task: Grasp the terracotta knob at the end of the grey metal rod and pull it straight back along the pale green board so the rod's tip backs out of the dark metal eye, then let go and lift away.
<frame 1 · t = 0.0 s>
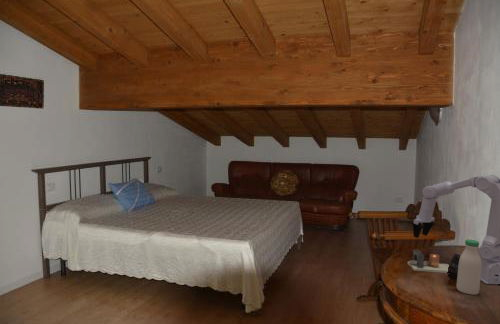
hand: (420, 236, 186), 11 cm above the table, tool pointing down, fingers open, 7 cm apart
board: (431, 268, 172), on the table
hook rod: (424, 259, 172), point 4 cm above the table, slide at 0.0 cm
milk bottle: (467, 291, 149), on the table
eye post: (417, 267, 173), resting on board
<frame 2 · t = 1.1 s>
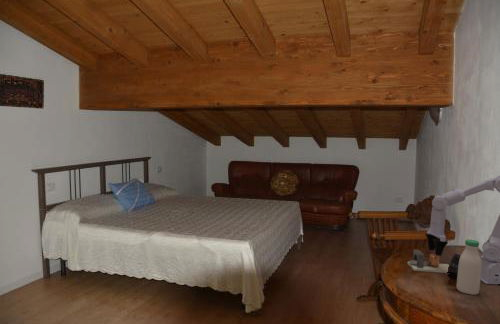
hand: (434, 252, 171), 7 cm above the table, tool pointing down, fingers open, 7 cm apart
nothing on the table moved.
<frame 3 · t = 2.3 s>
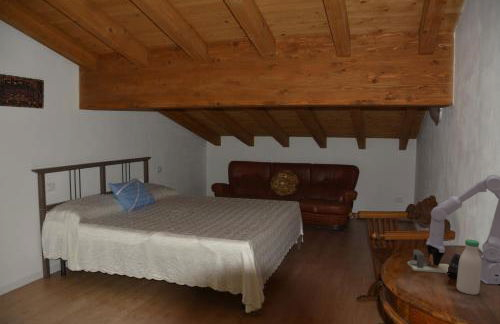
hand: (434, 263, 172), 2 cm above the table, tool pointing down, fingers closed on hook rod, 4 cm apart
hook rod: (424, 259, 172), point 4 cm above the table, slide at 0.0 cm, touching gripper
everything else where it was.
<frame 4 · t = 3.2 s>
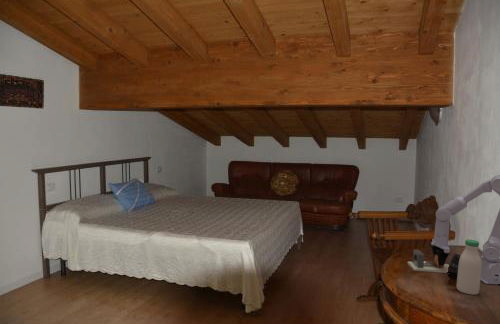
hand: (439, 263, 172), 2 cm above the table, tool pointing down, fingers closed on hook rod, 4 cm apart
hook rod: (429, 260, 172), point 4 cm above the table, slide at 2.1 cm, touching gripper
everything else where it was.
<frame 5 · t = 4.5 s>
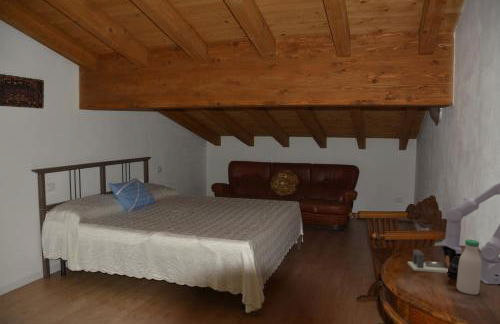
hand: (450, 264, 171), 2 cm above the table, tool pointing down, fingers closed on hook rod, 4 cm apart
hook rod: (440, 260, 171), point 4 cm above the table, slide at 6.9 cm, touching gripper
everything else where it was.
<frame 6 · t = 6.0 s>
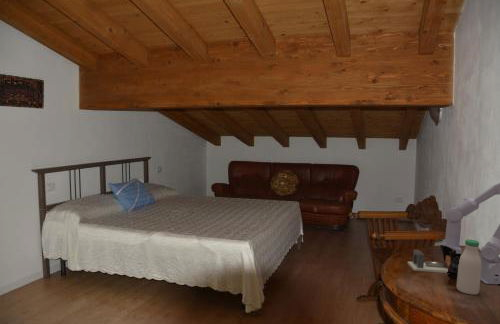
hand: (450, 264, 171), 2 cm above the table, tool pointing down, fingers open, 7 cm apart
hook rod: (440, 260, 171), point 4 cm above the table, slide at 6.9 cm
everything else where it was.
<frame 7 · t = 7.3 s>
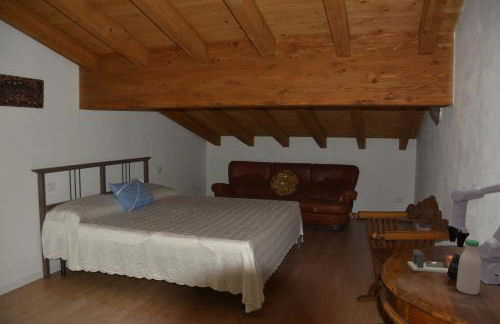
hand: (456, 244, 175), 10 cm above the table, tool pointing down, fingers open, 7 cm apart
nothing on the table moved.
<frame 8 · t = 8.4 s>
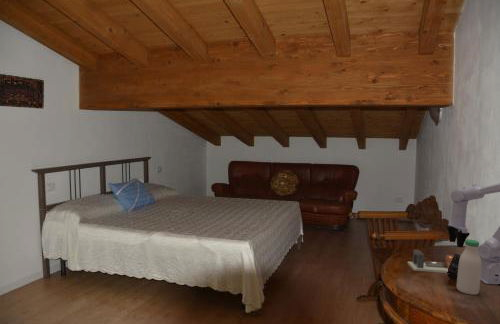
hand: (456, 244, 175), 10 cm above the table, tool pointing down, fingers open, 7 cm apart
nothing on the table moved.
at the end: hook rod slide at 6.9 cm; the gripper is holding nothing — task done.
